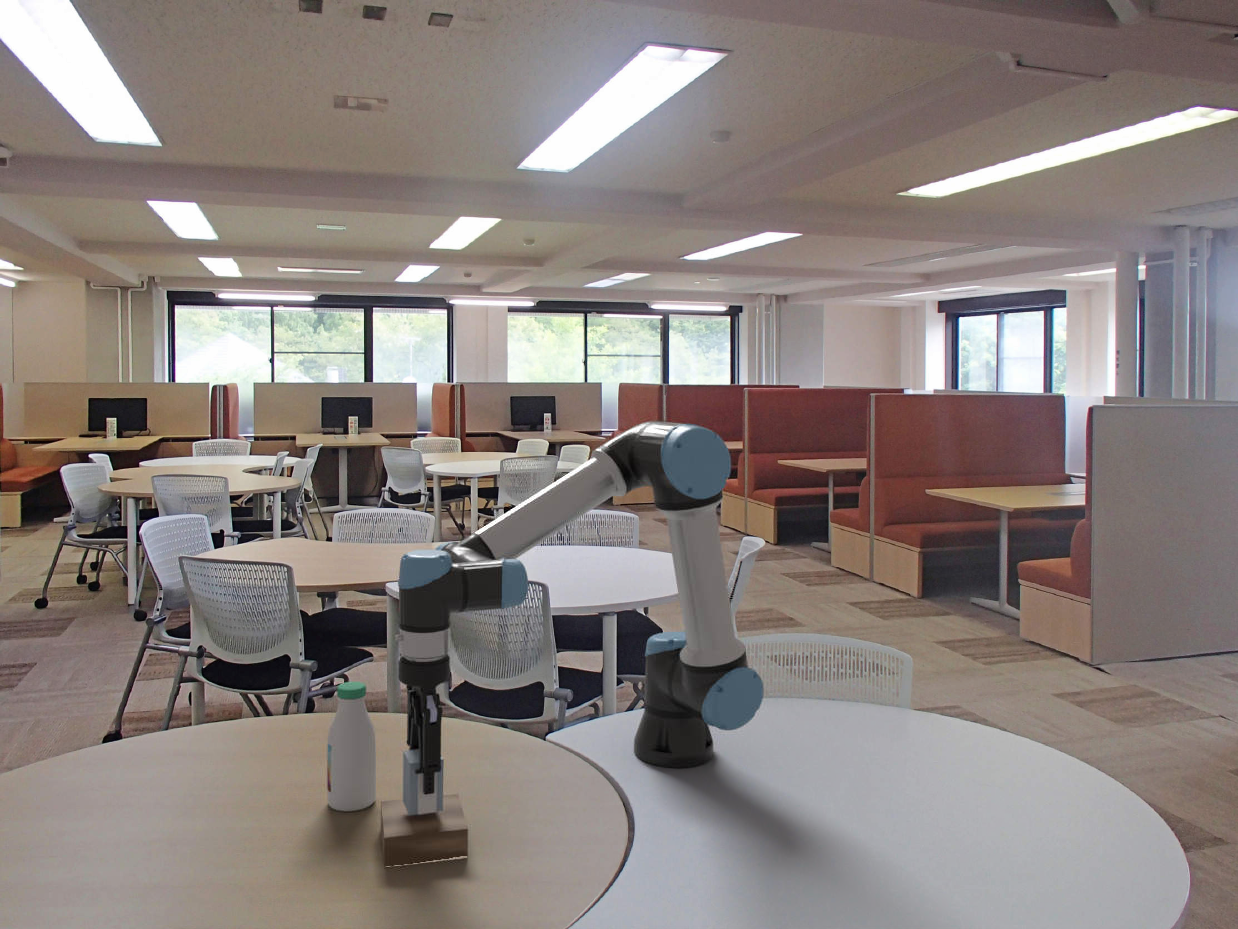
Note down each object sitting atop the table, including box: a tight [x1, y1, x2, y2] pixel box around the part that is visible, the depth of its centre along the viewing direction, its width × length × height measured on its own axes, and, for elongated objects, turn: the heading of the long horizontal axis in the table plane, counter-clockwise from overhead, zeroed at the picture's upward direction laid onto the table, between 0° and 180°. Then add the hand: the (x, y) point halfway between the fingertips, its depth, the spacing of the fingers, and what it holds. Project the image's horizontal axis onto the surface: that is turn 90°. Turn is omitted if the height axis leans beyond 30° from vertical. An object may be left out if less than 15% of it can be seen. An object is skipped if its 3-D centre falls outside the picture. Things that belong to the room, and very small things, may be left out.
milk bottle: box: [326, 681, 377, 812], centre depth 162 cm, size 8×8×20 cm
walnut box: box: [380, 793, 469, 868], centre depth 150 cm, size 12×12×5 cm
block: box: [402, 749, 445, 816], centre depth 149 cm, size 5×5×8 cm
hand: (422, 803), depth 149 cm, fingers closed on block, 5 cm apart
